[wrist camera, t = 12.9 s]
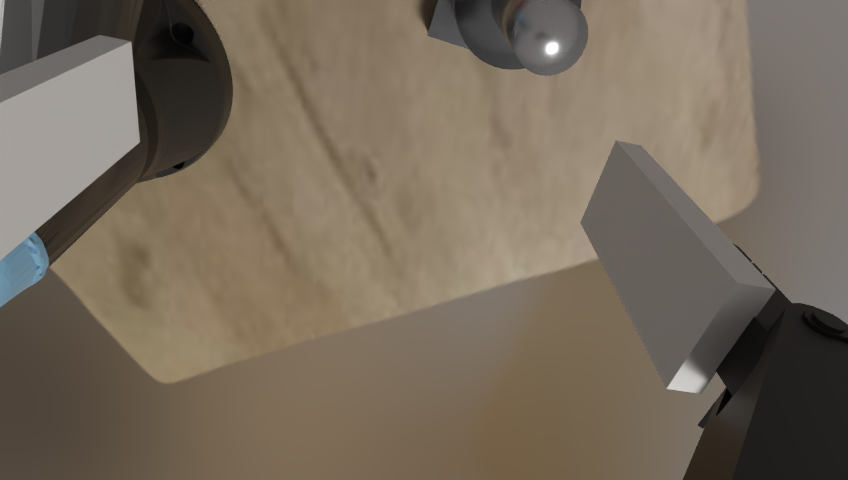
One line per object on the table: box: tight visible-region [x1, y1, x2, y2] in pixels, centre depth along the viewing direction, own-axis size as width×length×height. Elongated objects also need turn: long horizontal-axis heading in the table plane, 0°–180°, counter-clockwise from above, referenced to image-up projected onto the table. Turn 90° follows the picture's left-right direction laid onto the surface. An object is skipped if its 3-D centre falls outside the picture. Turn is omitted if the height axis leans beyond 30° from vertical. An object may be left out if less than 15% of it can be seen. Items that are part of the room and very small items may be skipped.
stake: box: [428, 0, 588, 76], centre depth 28 cm, size 8×8×16 cm
